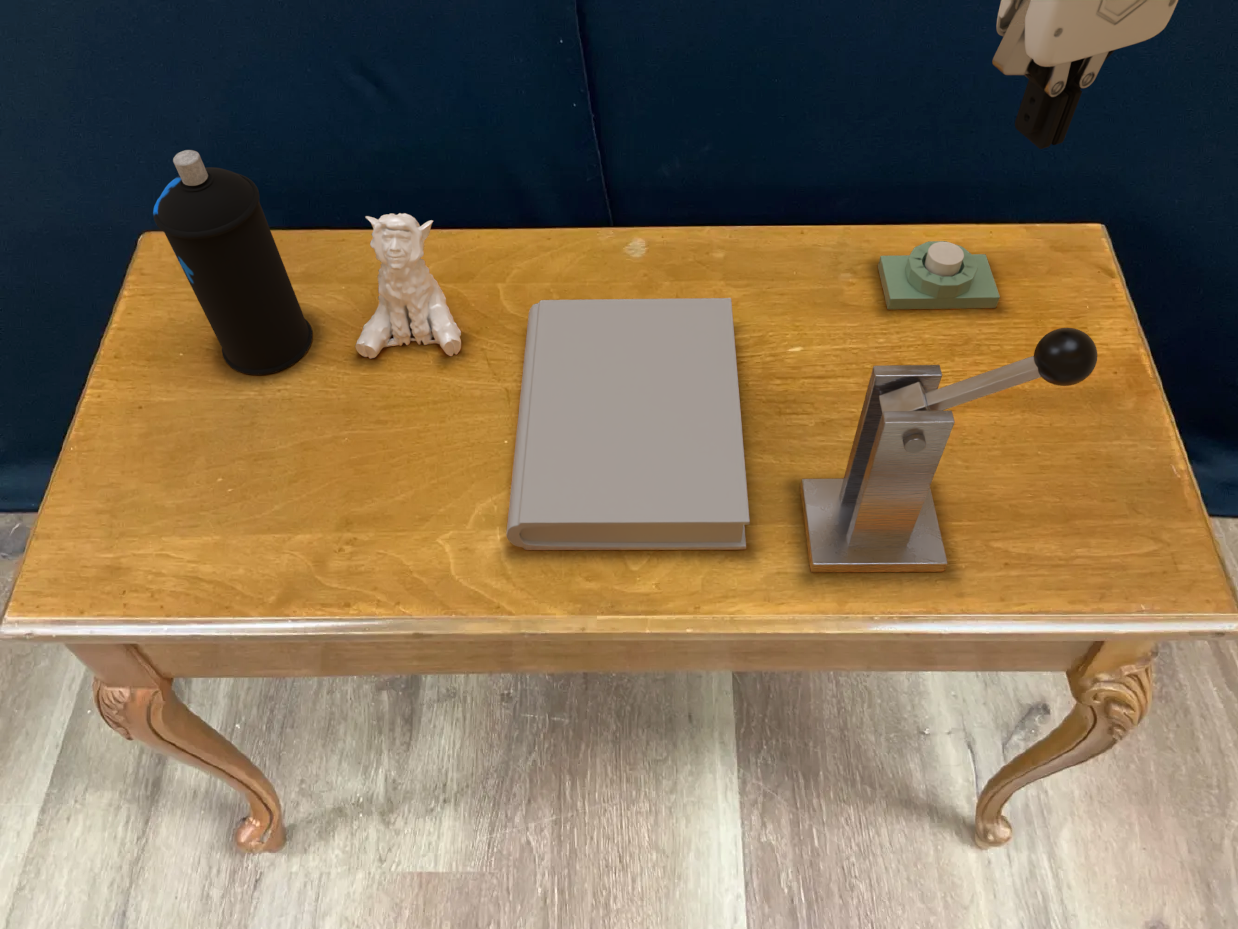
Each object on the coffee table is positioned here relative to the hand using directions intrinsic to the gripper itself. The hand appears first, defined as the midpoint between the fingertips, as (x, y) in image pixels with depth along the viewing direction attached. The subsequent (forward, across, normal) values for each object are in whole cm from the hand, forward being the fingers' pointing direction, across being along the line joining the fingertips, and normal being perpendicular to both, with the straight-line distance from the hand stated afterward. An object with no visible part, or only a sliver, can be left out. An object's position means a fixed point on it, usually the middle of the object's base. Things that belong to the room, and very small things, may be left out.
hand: (1037, 135), depth 66 cm
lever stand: (+24, -15, -11) cm, 30 cm away
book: (+24, -29, +5) cm, 38 cm away
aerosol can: (+24, -55, +28) cm, 66 cm away
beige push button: (+21, +5, +10) cm, 24 cm away
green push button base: (+24, +5, +10) cm, 26 cm away
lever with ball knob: (+9, -10, -13) cm, 19 cm away
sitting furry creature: (+24, -42, +25) cm, 54 cm away
